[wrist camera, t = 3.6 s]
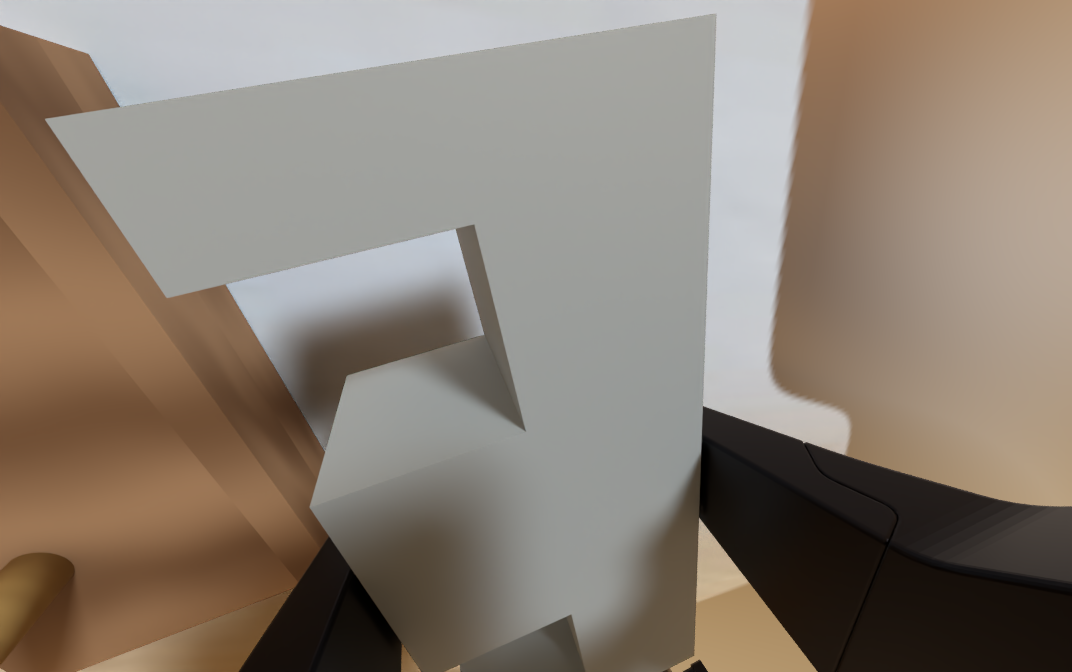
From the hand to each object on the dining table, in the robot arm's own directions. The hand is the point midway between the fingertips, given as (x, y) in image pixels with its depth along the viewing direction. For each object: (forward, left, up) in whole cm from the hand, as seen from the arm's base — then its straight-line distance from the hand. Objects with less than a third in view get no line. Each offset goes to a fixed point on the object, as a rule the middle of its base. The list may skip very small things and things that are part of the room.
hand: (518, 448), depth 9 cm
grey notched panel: (0, 0, -1) cm, 1 cm away
